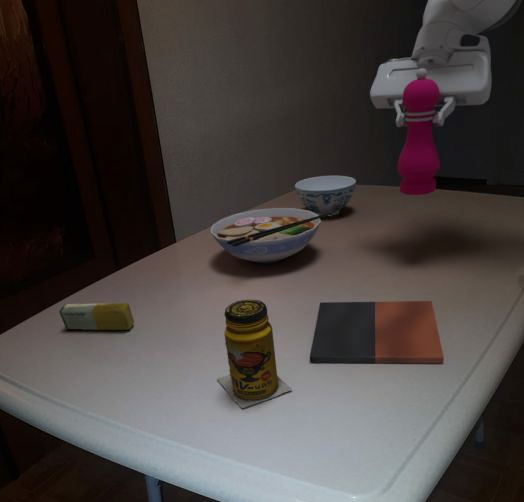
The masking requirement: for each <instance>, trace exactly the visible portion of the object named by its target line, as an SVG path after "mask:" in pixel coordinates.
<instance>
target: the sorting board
mask: <svg viewBox="0 0 524 502" xmlns="http://www.w3.org/2000/svg"><path fill="white" fill-rule="evenodd" d="M316 316H317V317H316V321H315V328H314V332H313V337H312V343H311V348H310V354H309V363H311V364H312V363H313V364H316V363H317V364H329V363H330V364H444V357H445V356H444V352H443V348H442V344H441V339H440V333H439V330H438V329H439V328H438V324H437V320H436V316H435V310H434V306H433V301H432V300H412V301H411V300H410V301H409V300H406V301H405V300H403V301H402V300H401V301H400V300H399V301H395V300H394V301H332V302H331V301H329V302H325V301H324V302H322V301H321V302H319V307H318V312H317V315H316Z"/></svg>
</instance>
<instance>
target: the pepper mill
mask: <svg viewBox="0 0 524 502" xmlns="http://www.w3.org/2000/svg"><path fill="white" fill-rule="evenodd" d="M426 76H427V71H426V69H424V68H421V69H419V70H418V71H417V73H416V77H417V79H416V80H414V81H412V82H410V83H409V84H408V85H407V86H406V87H405V89H404V91H403V97H402V100H403V104H404V105H405V107H406V108H405V109H406V110H407V111H406V110H405V111H404V113H405V114H406V118H405V120H406V121H407V123H406V126H407V131H406V138H405V142H404V146H403V148H402V150H401V152H400V154H399V157H398V161H397V172H398V174H399V175H400V177H402V180H400V182H399V192H400V193H401V194H403V195H409V196H420V195H427V194H428V195H429V194H431V193H434V192H435V191H436V187H437V186H436V185H437V179H435V177H434V176H435V175H436V174H437V173H438V171H439V169H440V167H441V166H440V158H439V153H438V150H437V147H436V145H435V142H434V137H433V117H434V113H435V112H437V111H436V109H435V108H434V107H436V106H435V104H436V103H437V102H438V100H439V88H438V85H437V84H436V83H435V82H434V81H433V80H430V79H425V78H426Z"/></svg>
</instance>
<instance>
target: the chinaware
mask: <svg viewBox="0 0 524 502" xmlns="http://www.w3.org/2000/svg"><path fill="white" fill-rule="evenodd" d="M356 184H357V180H356V179H355V178H354V177H350V176H347V175H321V176H313V177H308V178H305V179H302V180H299V181H297V182H296V183H295V185H294V188H295V190H296V194H297V197H298V199H299V200H300V202H301V203H302V205H303V206H305V208H307V209H308V211H311V212H313V213H315V214H317V215H319V216H320V215H324V214H327V215H328V213H333V214H331V215H334V214H337V213H338V212H339V211H340V212H341V210H342V209H343V208H344V207H345V206H346V205H347V204H348V202H350V201H351V199H352V197H353V195H354V192H355V189H356ZM337 215H338V214H337Z"/></svg>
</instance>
